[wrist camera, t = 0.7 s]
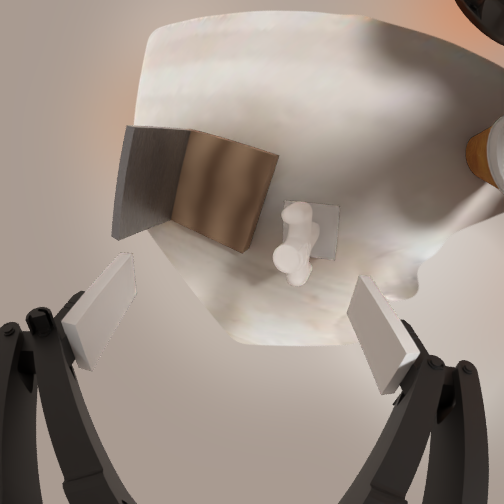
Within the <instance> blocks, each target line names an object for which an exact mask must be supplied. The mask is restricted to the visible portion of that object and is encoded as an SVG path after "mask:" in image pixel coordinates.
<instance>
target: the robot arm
mask: <svg viewBox="0 0 504 504" xmlns="http://www.w3.org/2000/svg"><path fill="white" fill-rule="evenodd" d="M455 1H456V3H457V5H458V6H459V8H460V9H461V11H462V12H463V13H464V15H465V16H466V17H467V18H468V19H469V20H470V21H471V22H472V24H474V25H475V26H476V27H477V28H478V29H479V30H480V31H481V32H482V33H484V34H485V35H486V36H488V37H489V38H491V39H492V40H494V41H495V42H497V43H499V44H501V45H503V46H504V0H455ZM136 295H137V290H136V281H135V272H134V262H133V253H125V252H121V253H120V254H119V255H118V256H117V257H116V258H115V259H114V260H113V262H111V264H110V265H109V266H108V267H107V268H106V269H105V270H104V271H103V272H102V273H101V275H100V276H99V277H98V278H97V279H96V280H95V281H94V282H93V284H92V285H91V286H90V287H89V288H88V289H87V290H86V292H85V291H80V292H78V293H77V294H75V295H73V296H72V298H71V299H70V300H69V301H68V303H66V304H65V306H64V308H62V309H61V310H60V311H59V313H58V314H57V315H56V316H55V317H54V318H53V316H52V313H51V311H50V309H48V308H45V307H39V308H36V309H33V310H32V311H30V312H29V313H28V314H27V316H26V322H27V324H28V327H29V329H30V331H21V329H20V326H19V324H17V323H15V322H9V323H6V324H4V325H3V326H2V327H1V328H0V504H43V503H42V496H41V490H40V483H39V474H38V465H37V464H38V463H37V450H36V449H37V448H36V405H37V388H39V393H40V398H41V403H42V408H43V412H44V416H45V419H46V424H47V428H48V431H49V435H50V438H51V441H52V445H53V448H54V451H55V454H56V457H57V460H58V462H59V465H60V468H61V470H62V473H63V476H64V480H65V481H64V482H63V489H64V492H65V495H66V497H67V499H68V501H69V503H70V504H137V503H136V502H135V501H134V499H133V498H132V497H131V496H130V494H129V493H128V492H127V490H126V488H125V487H124V485H123V483H122V482H121V480H120V479H119V476H118V475H117V473H116V471H115V469H114V467H113V466H112V463H111V461H110V460H109V458H108V456H107V454H106V451H105V450H104V447H103V445H102V443H101V441H100V439H99V437H98V434H97V432H96V430H95V427H94V425H93V422H92V420H91V418H90V415H89V412H88V410H87V407H86V405H85V402H84V399H83V397H82V393H81V391H80V387H79V385H78V381H77V378H76V375H75V372H74V369H73V366H72V363H73V362H74V360H75V359H76V362H77V364H78V366H79V368H82V369H85V370H89V371H93V369H94V368H95V366H96V364H97V362H98V360H99V358H100V356H101V354H102V353H103V351H104V349H105V347H106V345H107V344H108V342H109V340H110V338H111V336H112V335H113V333H114V331H115V330H116V328H117V326H118V324H119V323H120V321H121V319H122V318H123V316H124V314H125V313H126V311H127V309H128V308H129V306H130V304H131V303H132V301H133V299H134V298H135V296H136ZM347 315H348V317H349V319H350V322H351V324H352V326H353V328H354V331H355V333H356V335H357V338H358V340H359V342H360V344H361V347H362V349H363V351H364V354H365V356H366V358H367V361H368V364H369V366H370V368H371V371H372V373H373V376H374V378H375V381H376V383H377V386H378V389H379V391H380V394H381V395H384V394H392V393H395V391H396V390H397V388H398V387H399V385H400V386H401V389H402V392H401V394H400V395H399V397H398V398H397V399H396V400H395V402H394V403H393V405H395V406H394V408H393V411H392V413H391V415H390V417H389V419H388V421H387V423H386V425H385V428H384V429H383V431H382V433H381V435H380V437H379V439H378V441H377V443H376V445H375V447H374V448H373V450H372V452H371V454H370V456H369V457H368V459H367V461H366V462H365V464H364V466H363V467H362V469H361V471H360V472H359V474H358V475H357V477H356V478H355V480H354V482H353V483H352V485H351V486H350V488H349V489H348V491H347V492H346V493H345V495H344V496H343V498H342V499H341V500H340V502H339V503H338V504H408V502H407V501H406V500H405V496H406V493H407V491H408V489H409V487H410V485H411V482H412V480H413V478H414V475H415V473H416V471H417V468H418V466H419V463H420V461H421V458H422V455H423V453H424V450H425V447H426V444H427V441H428V438H429V435H430V432H431V441H430V454H429V463H428V471H427V479H426V486H425V491H424V497H423V502H422V504H487V500H488V482H489V481H488V480H489V463H488V462H489V461H488V460H489V458H488V440H487V428H486V419H485V411H484V404H483V398H482V392H481V387H480V382H479V377H478V372H477V369H476V368H475V366H474V365H473V364H472V363H471V362H469V361H465V360H462V361H459V363H458V364H457V366H456V367H448V366H445V364H444V362H443V361H442V360H441V359H440V358H438V357H437V356H434V355H429V354H428V352H427V350H426V349H425V347H424V346H423V344H422V343H421V341H420V339H419V338H418V336H417V335H416V333H415V332H414V330H413V329H412V327H411V325H409V324H408V323H407V322H406V321H405V320H400V319H399V318H398V316H397V314H396V313H395V311H394V310H393V308H392V307H391V305H390V304H389V302H388V301H387V299H386V298H385V297H384V295H383V294H382V292H381V291H380V289H379V288H378V286H377V285H376V284H375V282H374V281H373V279H372V278H371V276H364V275H359V277H358V280H357V283H356V286H355V290H354V293H353V296H352V299H351V302H350V305H349V308H348V311H347Z"/></svg>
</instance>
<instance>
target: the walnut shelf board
mask: <svg viewBox="0 0 504 504" xmlns="http://www.w3.org/2000/svg"><path fill="white" fill-rule="evenodd" d="M187 130H191V134H190V137H189V141H188V145H187V149H186V153H185V157H184V161H183V166H182V170H181V174H180V179H179V183H178V188H177V193H176V197H175V202H174V207H173V212H172V218H171V220H172V221H174V222H177V223H179V224H181V225H183V226H185V227H187V228H189V229H191V230H193V231H196V232H198V233H200V234H202V235H204V236H206V237H208V238H211V239H213V240H215V241H217V242H219V243H221V244H223V245H225V246H228V247H230V248H232V249H234V250H236V251H238V252H240V253H244V252H245V251H246V250H247V249H249V246H250V243H251V240H252V237H253V234H254V231H255V228H256V225H257V222H258V219H259V216H260V213H261V209H262V206H263V203H264V200H265V197H266V194H267V191H268V188H269V185H270V182H271V179H272V176H273V173H274V170H275V167H276V164H277V161H278V158H279V156H278V155H275V154H273V153H270V152H267V151H264V150H261V149H258V148H255V147H251V146H248V145H245V144H242V143H239V142H235V141H232V140H229V139H225V138H222V137H218V136H215V135H211V134H208V133H204V132H200V131H196V130H192V129H187Z"/></svg>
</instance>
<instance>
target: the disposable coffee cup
mask: <svg viewBox="0 0 504 504" xmlns="http://www.w3.org/2000/svg"><path fill="white" fill-rule="evenodd" d="M466 160H467V163H468V166H469V168H470V170H471V171H472V172H473V173H474V175H476V176H477V177H479V178H481V179H482V180H484V181H486V182H488V183H489V184H491V185H493V186H494V187H496V188H498V189H499V190H500V191H501V192H502V193H503V194H504V116H502V117H500V118H499V119H498V120H497V121H496V122H495V123H494V125H493V126H491V127H489V128H488V129H486V130H484V131H482V132H481V133H479V134H477V135H475V136H473V137H472V138H471V139H470V140H469V142H468V144H467V147H466Z"/></svg>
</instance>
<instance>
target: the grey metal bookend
mask: <svg viewBox="0 0 504 504" xmlns="http://www.w3.org/2000/svg"><path fill="white" fill-rule="evenodd" d="M190 134H191V130H187V129H182V128H169V127H153V126H128V125H127V127H126V132H125V136H124V141H123V147H122V153H121V159H120V164H119V171H118V177H117V185H116V193H115V201H114V212H113V222H112V237H113V238H115V239H117V240H118V241H119V240H121V239H124V238H126V237H128V236H131V235H133V234H136V233H138V232H141V231H143V230H146V229H149V228H151V227H154V226H156V225H159V224H162V223H164V222H167V221H170V220H171V218H172V212H173V207H174V202H175V197H176V193H177V188H178V183H179V179H180V174H181V170H182V166H183V161H184V157H185V153H186V149H187V145H188V141H189V137H190Z"/></svg>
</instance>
